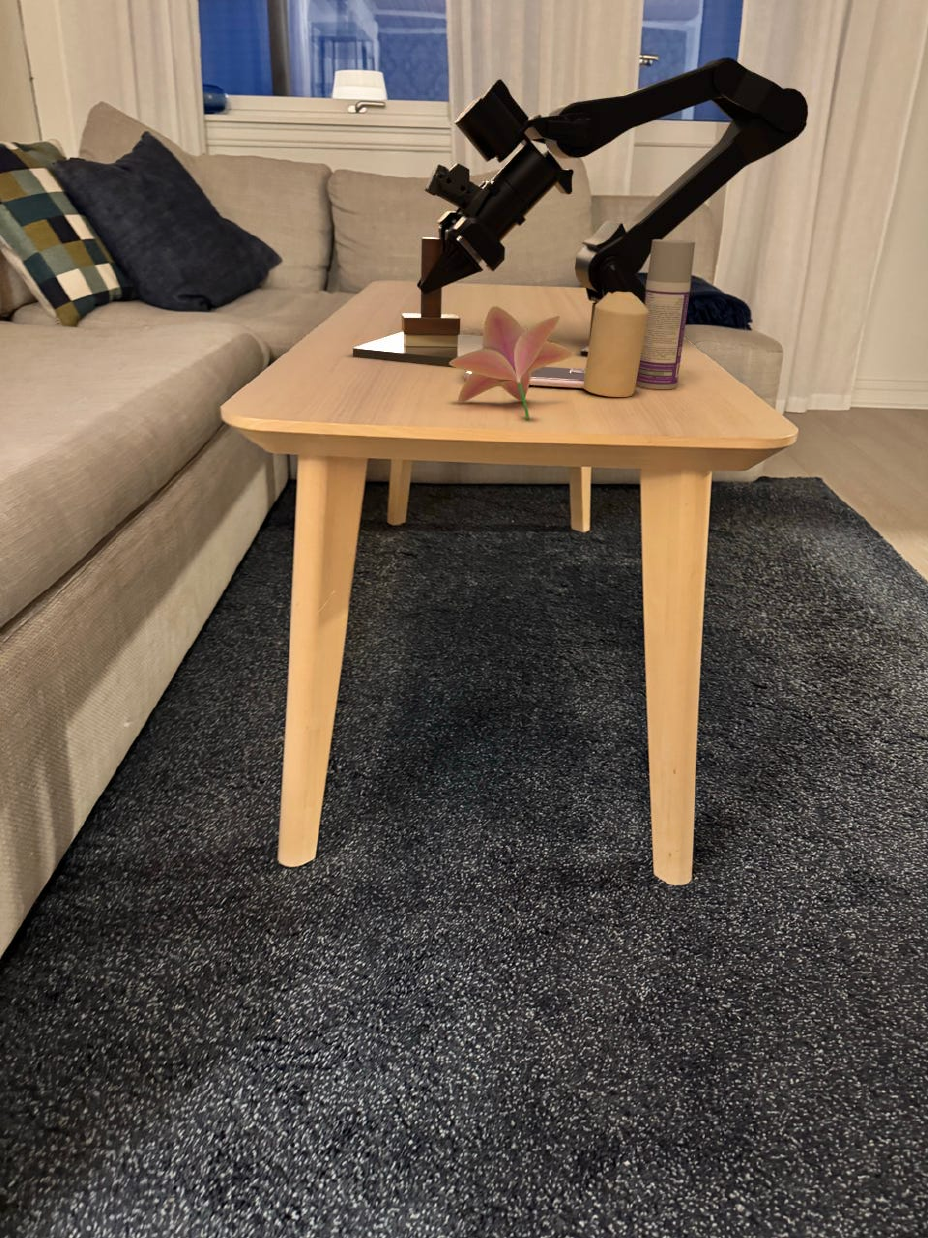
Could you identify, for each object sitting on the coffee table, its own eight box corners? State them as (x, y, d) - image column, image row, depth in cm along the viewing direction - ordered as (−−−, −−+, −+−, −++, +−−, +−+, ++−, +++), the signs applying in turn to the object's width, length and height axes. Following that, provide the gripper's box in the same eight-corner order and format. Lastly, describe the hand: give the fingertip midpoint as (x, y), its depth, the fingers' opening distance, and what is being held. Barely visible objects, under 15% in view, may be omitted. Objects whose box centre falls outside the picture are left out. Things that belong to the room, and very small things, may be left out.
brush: (401, 341, 116) (402, 236, 111) (455, 342, 117) (458, 237, 112) (404, 346, 113) (404, 238, 108) (459, 347, 114) (463, 239, 109)
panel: (410, 336, 127) (410, 328, 126) (513, 346, 122) (513, 338, 122) (352, 356, 111) (352, 347, 111) (467, 368, 107) (467, 359, 107)
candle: (632, 400, 95) (650, 300, 90) (580, 393, 95) (595, 293, 90) (634, 387, 99) (652, 292, 95) (585, 380, 100) (599, 285, 95)
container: (650, 379, 105) (667, 238, 98) (685, 386, 102) (705, 241, 95) (626, 383, 102) (642, 239, 95) (661, 391, 99) (680, 242, 92)
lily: (587, 416, 91) (564, 323, 91) (586, 392, 80) (560, 286, 80) (472, 448, 93) (450, 357, 93) (455, 429, 81) (429, 325, 81)
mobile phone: (471, 360, 105) (600, 367, 104) (470, 368, 106) (600, 376, 104) (462, 372, 99) (601, 380, 97) (462, 381, 99) (600, 390, 98)
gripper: (455, 140, 114) (368, 234, 117) (480, 135, 97) (378, 244, 100) (513, 210, 118) (428, 299, 122) (547, 217, 102) (447, 319, 105)
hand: (420, 289), depth 112 cm, fingers closed on brush, 2 cm apart
